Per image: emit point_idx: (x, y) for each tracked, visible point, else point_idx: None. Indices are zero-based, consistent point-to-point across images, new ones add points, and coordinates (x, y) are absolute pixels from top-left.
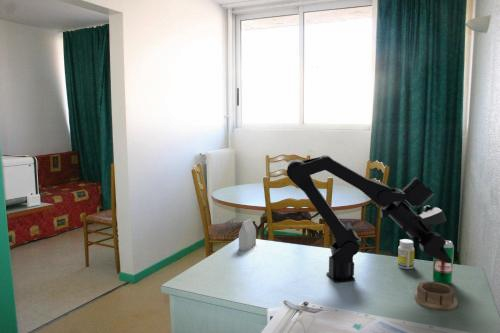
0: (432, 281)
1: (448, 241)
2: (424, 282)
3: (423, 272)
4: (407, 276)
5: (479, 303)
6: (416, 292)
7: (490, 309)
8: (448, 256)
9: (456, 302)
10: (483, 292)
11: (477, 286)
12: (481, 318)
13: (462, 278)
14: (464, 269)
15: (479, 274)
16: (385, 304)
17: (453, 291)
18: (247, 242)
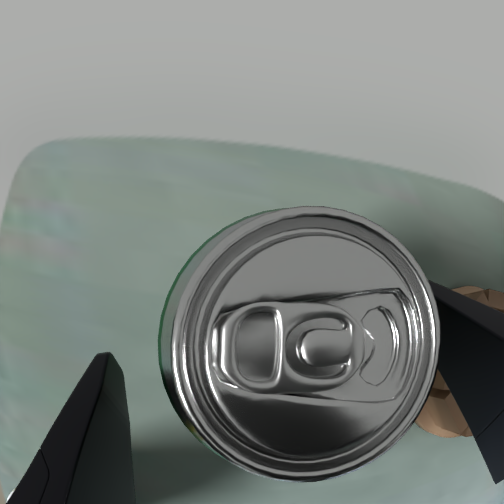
0: (445, 388)
1: (277, 269)
2: (460, 419)
3: (138, 414)
4: (232, 492)
5: (421, 206)
6: (448, 434)
7: (444, 184)
8: (468, 303)
9: (480, 289)
10: (312, 163)
11: (250, 171)
12: (498, 228)
13: (162, 221)
14: (47, 196)
15: (97, 143)
16: (490, 483)
17: (500, 295)
18: None
